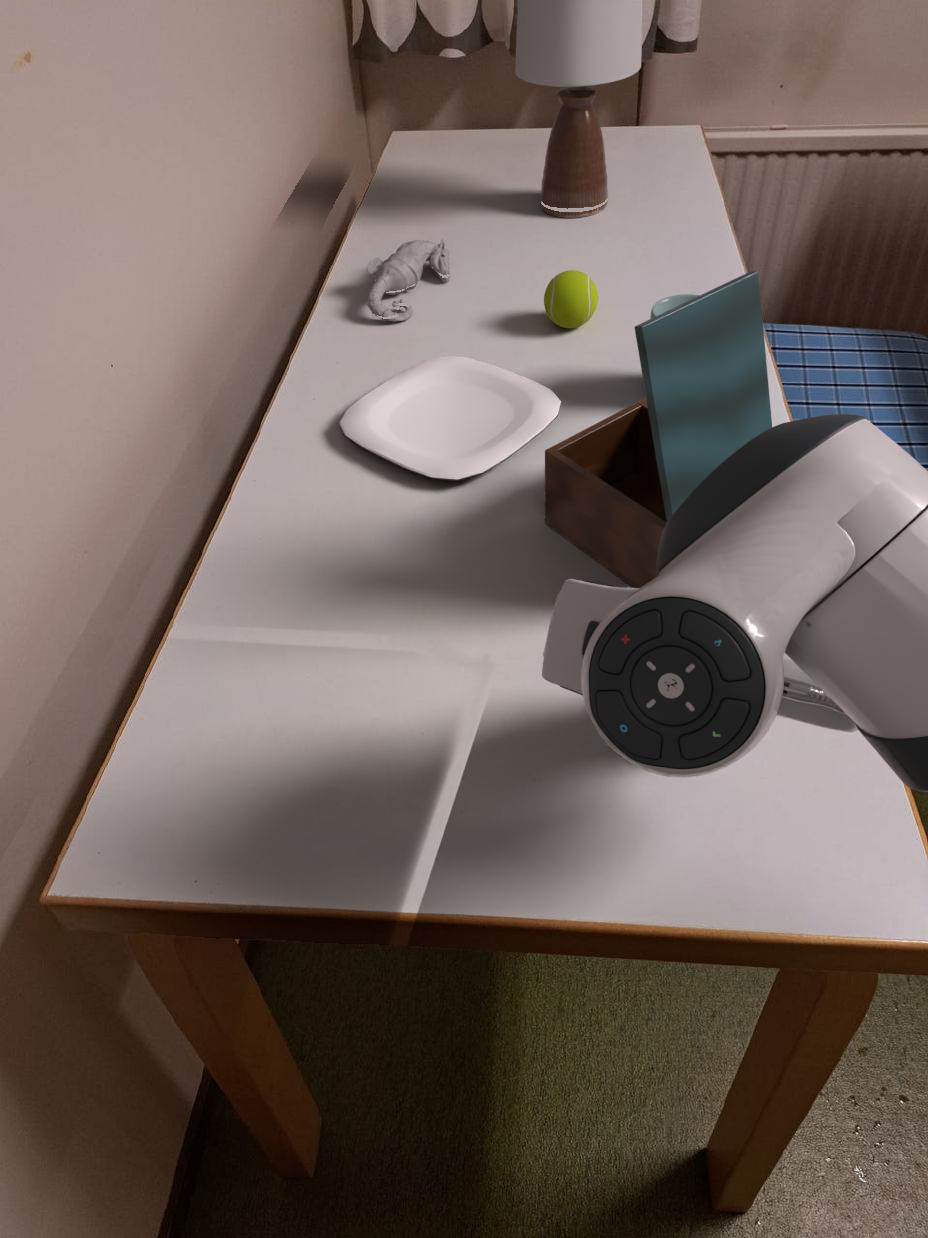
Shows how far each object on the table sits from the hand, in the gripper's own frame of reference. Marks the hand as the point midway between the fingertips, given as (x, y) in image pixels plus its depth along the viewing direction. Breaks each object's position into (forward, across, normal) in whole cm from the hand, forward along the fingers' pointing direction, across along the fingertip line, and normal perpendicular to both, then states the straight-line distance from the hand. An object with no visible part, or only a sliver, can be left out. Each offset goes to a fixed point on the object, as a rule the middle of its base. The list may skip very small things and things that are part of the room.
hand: (706, 655), depth 61 cm
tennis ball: (+47, +29, -36) cm, 66 cm away
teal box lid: (+6, +5, -19) cm, 21 cm away
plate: (+28, +35, -17) cm, 48 cm away
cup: (+38, +12, -27) cm, 49 cm away
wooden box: (+20, +9, -9) cm, 24 cm away
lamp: (+74, +41, -63) cm, 106 cm away
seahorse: (+49, +54, -38) cm, 82 cm away
